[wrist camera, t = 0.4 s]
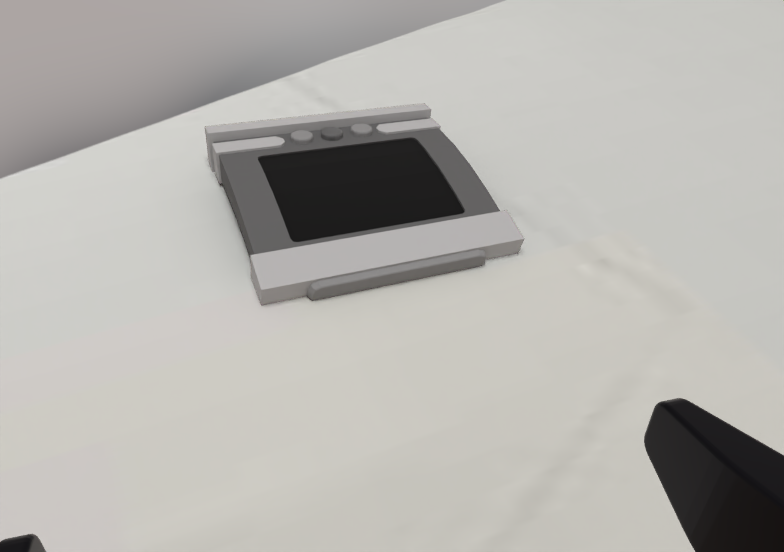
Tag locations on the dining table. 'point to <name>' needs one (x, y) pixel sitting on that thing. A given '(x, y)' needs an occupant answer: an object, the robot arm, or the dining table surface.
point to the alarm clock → (354, 201)
